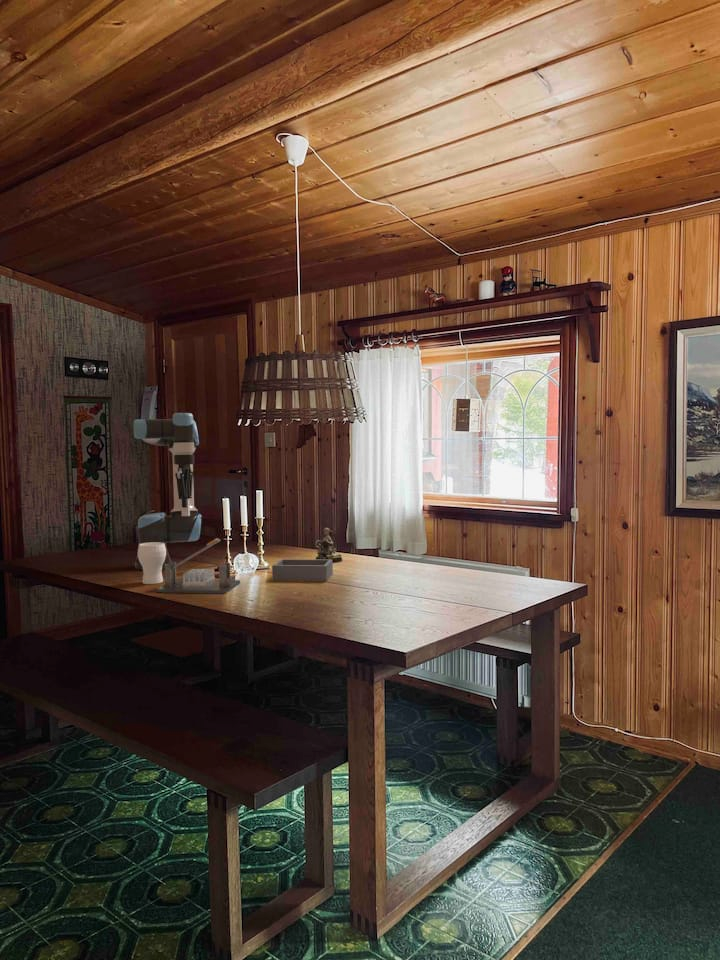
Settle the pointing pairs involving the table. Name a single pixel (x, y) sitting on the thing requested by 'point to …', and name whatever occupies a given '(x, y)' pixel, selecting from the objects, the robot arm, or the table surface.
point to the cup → (152, 561)
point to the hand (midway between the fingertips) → (185, 515)
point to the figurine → (327, 548)
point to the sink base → (196, 590)
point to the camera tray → (302, 570)
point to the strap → (197, 552)
